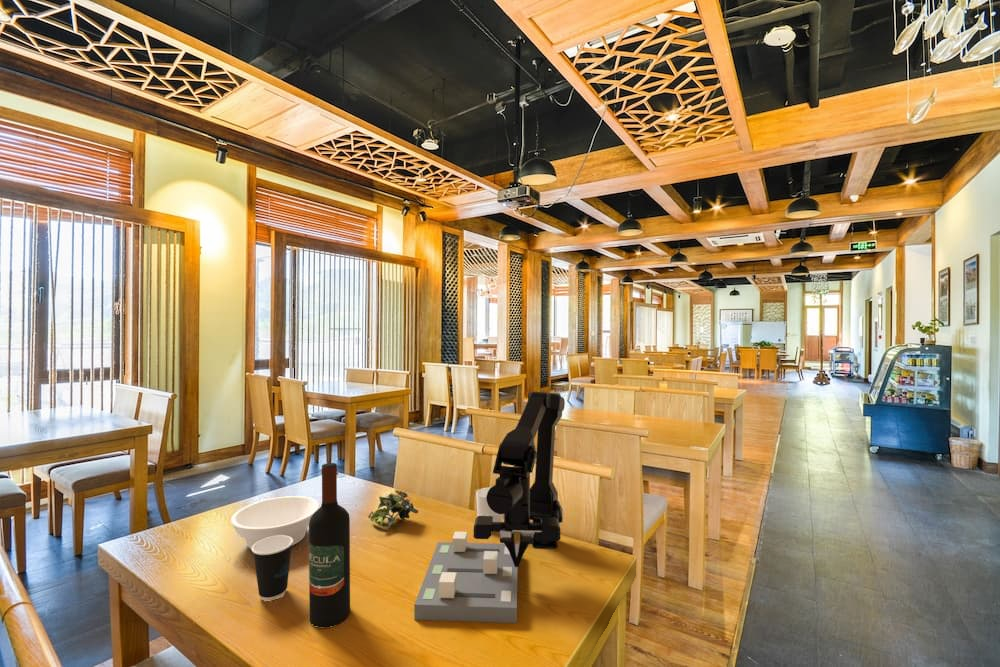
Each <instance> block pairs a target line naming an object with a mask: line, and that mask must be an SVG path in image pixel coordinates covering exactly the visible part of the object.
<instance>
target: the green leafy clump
mask: <svg viewBox="0 0 1000 667" xmlns="http://www.w3.org/2000/svg"><path fill="white" fill-rule="evenodd" d="M395 493H396V494H395ZM395 493H392V492H391V493H389V494H386V495H385V496H381V495H379V496H378V498H379V502H380V503H379V504H378V507H377V509H376V510H375V511H372V510H371V511H370V513H369V515H368V519H370V521H371V522H375V523H376V521H377V522H378V520H379V519H380V526H381V528H382V527H384V521H385V519H387V523H388V525H387V529H386V531H387V530H389V529H390V527H391V525H392V524H393V522H395V521H396V518H397V517H399V519H400V520H405V519H410V513H411V512H412V514H413V513H414V514H418V513H419V510H418V509H417V508H414V504H413V503H412V502H410V501H411V499H408V497H409V494H408V493H406V492H405V491H402V490H395ZM405 498H406V499H405ZM382 507H383V508H382ZM390 512H391V513H390ZM396 513H397V514H396ZM394 514H395V516H394Z"/></svg>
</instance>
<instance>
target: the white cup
mask: <svg viewBox="0 0 1000 667" xmlns="http://www.w3.org/2000/svg"><path fill="white" fill-rule="evenodd" d="M491 487H492V486H491ZM491 487H490V486H488V487H482V488H479V489H478V490H476V492H475V494H476V496H475V497H476V515H477V516H476V518H477V517H478V516H493V522H503V519H504V514H498V513H495V512H494V511H492V510H491V509H490V507H489V506H488V503H487V499H486V496H487V493H488V491H489V489H490V488H491Z"/></svg>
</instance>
